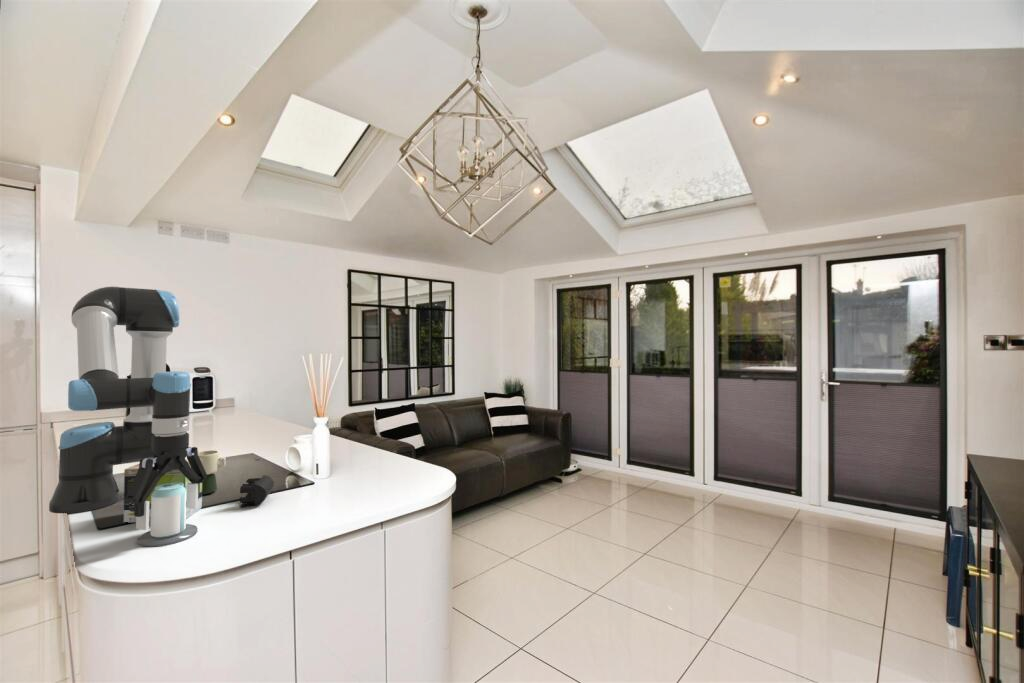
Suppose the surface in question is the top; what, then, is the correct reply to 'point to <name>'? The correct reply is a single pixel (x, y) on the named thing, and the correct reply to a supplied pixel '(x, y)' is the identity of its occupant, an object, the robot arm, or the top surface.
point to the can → (168, 510)
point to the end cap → (256, 491)
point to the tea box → (169, 477)
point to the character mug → (210, 469)
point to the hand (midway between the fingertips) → (168, 518)
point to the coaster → (151, 541)
